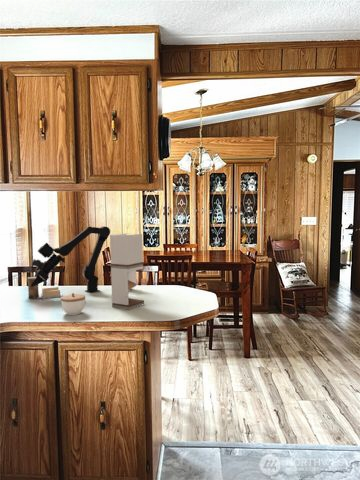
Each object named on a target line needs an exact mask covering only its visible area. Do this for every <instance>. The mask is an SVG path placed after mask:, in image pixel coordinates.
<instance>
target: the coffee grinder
mask: <svg viewBox="0 0 360 480" xmlns="http://www.w3.org/2000/svg"><path fill="white" fill-rule="evenodd" d="M109 244H110V245H109V248H110V250H109V251H110V253H109V254H110V277H111V278H110V279H111V280H110V281H111V305H112V306H111V307H112V308H116V309H123V310H128V309H129V310H128V311H130V310H132V308H133V309H135V308H138V307H141V306H143V305H142V304H144V305H145V300H144V299H139V298H129V296H130V295H129V290H131V289H133V288H135V287H136V286H137V271H140V270H143V269H144V256H143V255H144V250H143V248H144V247H143V244H144V243H143V233H136V234H127V233H119V234H117V233H116V234H109ZM140 305H141V306H140ZM137 306H138V307H137Z"/></svg>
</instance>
